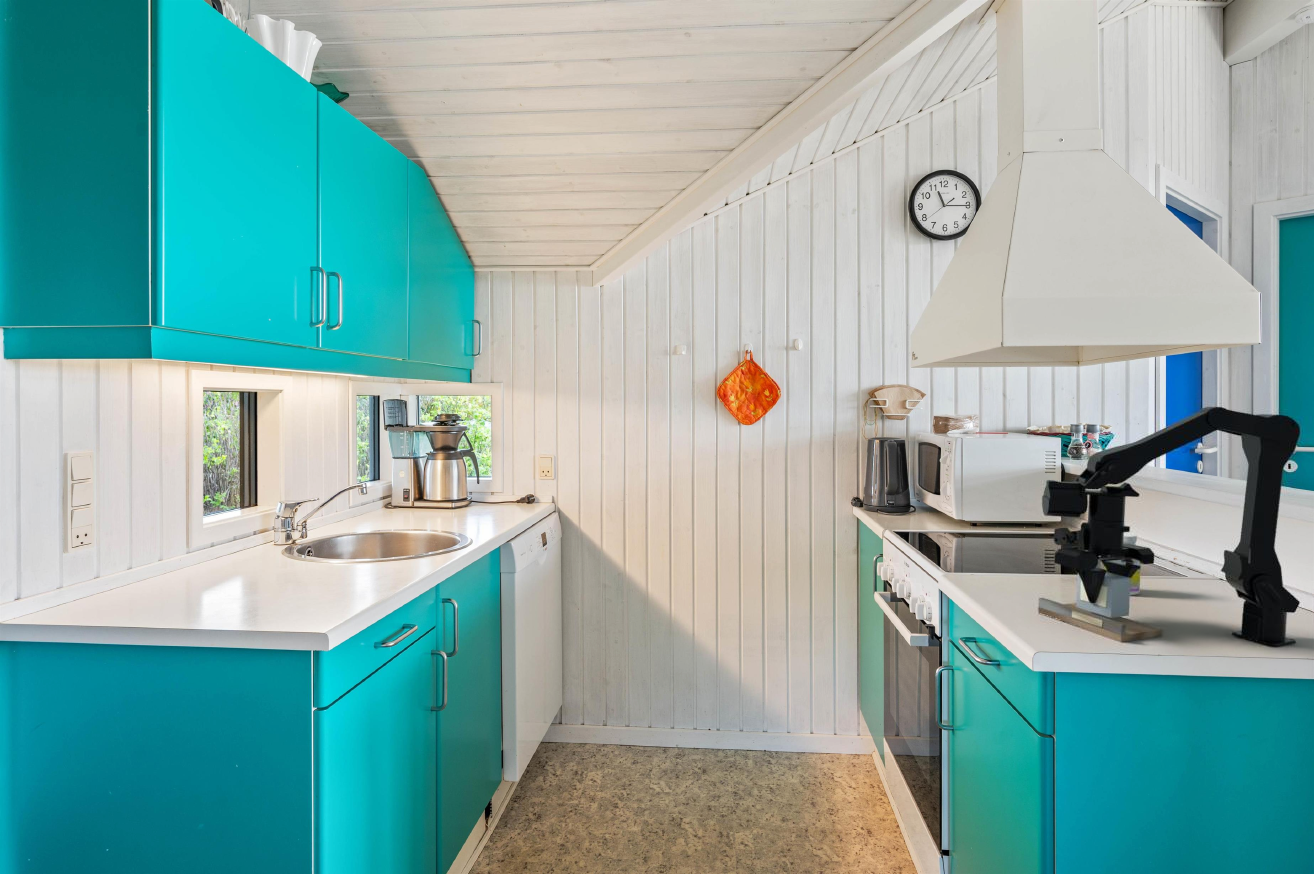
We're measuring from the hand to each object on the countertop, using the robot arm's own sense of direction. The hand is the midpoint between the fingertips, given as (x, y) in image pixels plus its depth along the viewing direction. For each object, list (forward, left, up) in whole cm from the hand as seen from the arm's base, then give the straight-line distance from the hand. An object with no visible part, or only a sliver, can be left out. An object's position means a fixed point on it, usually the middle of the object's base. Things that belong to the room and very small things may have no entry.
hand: (1102, 601), depth 130 cm
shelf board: (+1, 0, -4) cm, 4 cm away
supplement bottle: (-25, -15, -4) cm, 30 cm away
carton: (0, 0, -2) cm, 2 cm away
